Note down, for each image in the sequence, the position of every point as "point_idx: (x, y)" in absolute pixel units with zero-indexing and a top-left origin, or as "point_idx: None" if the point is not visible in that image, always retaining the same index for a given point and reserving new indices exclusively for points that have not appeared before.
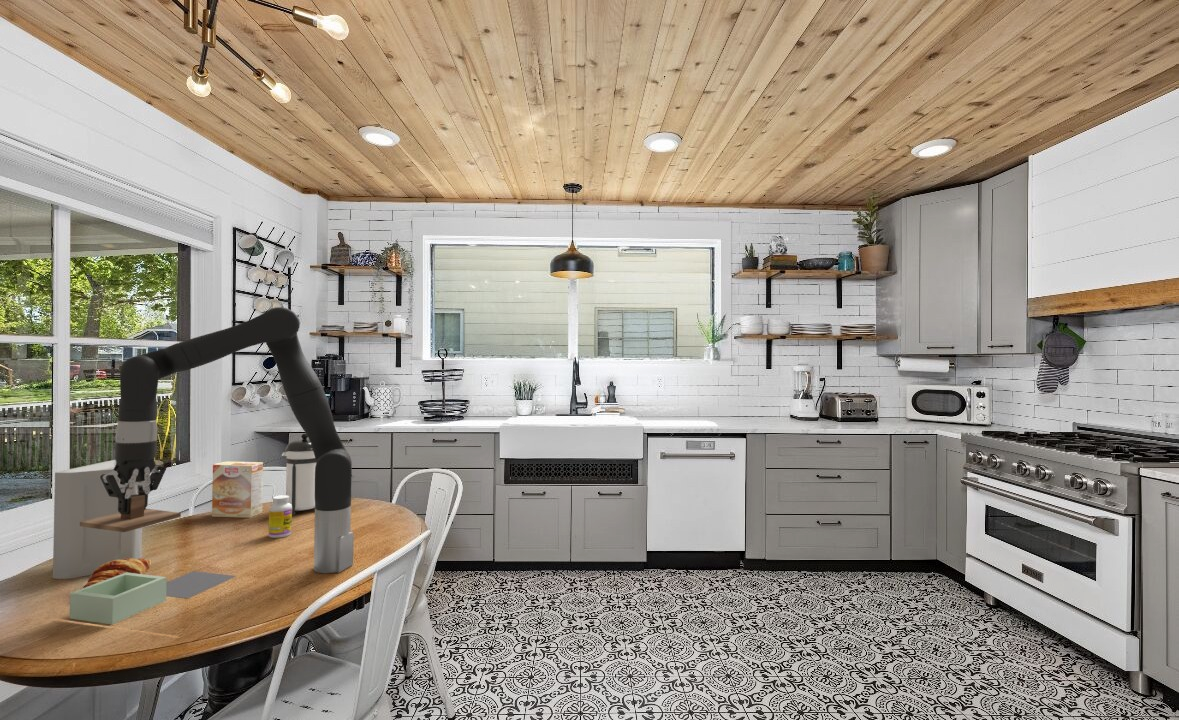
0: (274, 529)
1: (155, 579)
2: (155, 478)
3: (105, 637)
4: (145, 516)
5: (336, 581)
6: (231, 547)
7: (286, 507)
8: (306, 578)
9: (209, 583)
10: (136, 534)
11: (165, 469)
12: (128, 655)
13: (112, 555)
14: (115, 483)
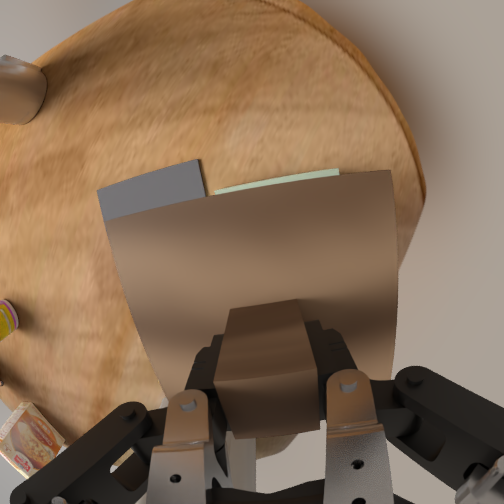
0: (6, 315)
1: None
2: (101, 474)
3: (348, 136)
4: (228, 298)
5: (64, 40)
6: (58, 337)
7: None
8: (64, 83)
9: (137, 198)
10: None
11: (20, 488)
12: (356, 52)
13: None
14: (492, 434)
